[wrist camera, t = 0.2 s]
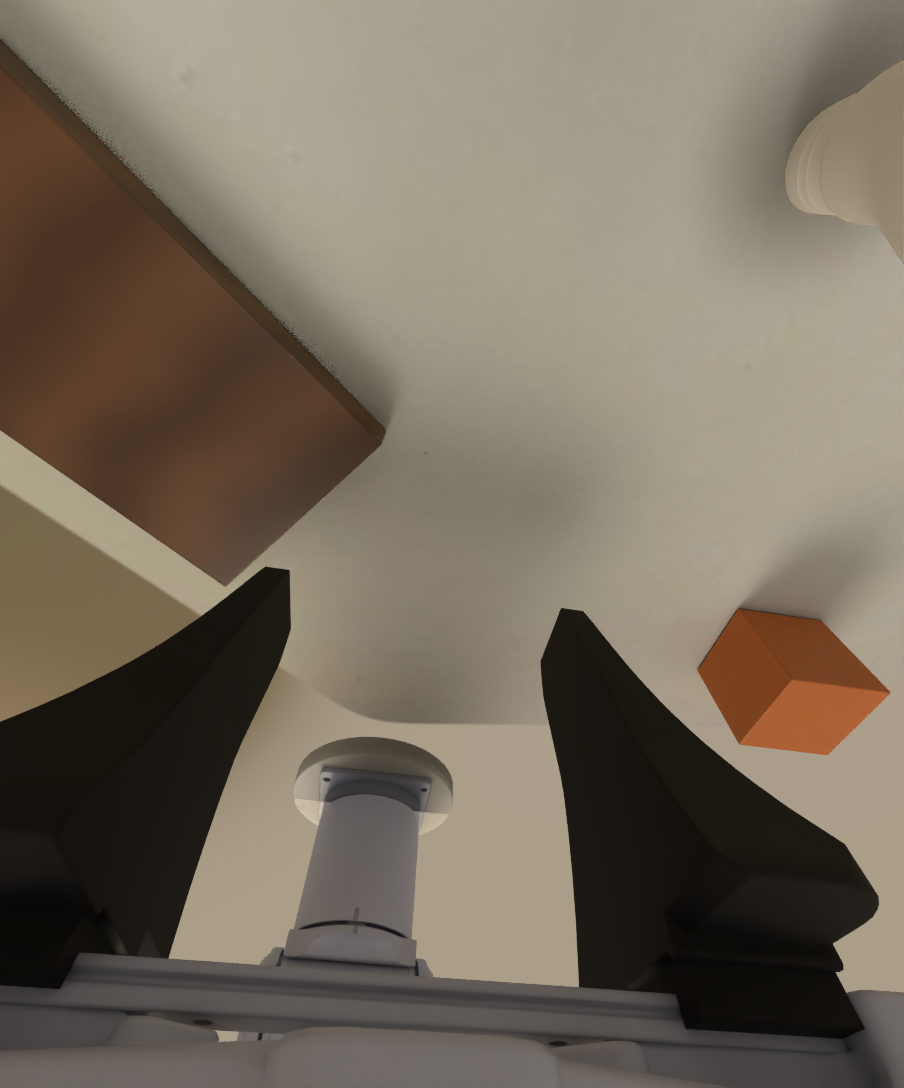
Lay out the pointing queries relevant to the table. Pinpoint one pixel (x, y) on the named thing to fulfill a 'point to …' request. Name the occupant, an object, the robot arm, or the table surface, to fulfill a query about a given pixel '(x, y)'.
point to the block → (788, 683)
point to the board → (151, 353)
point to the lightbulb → (855, 159)
